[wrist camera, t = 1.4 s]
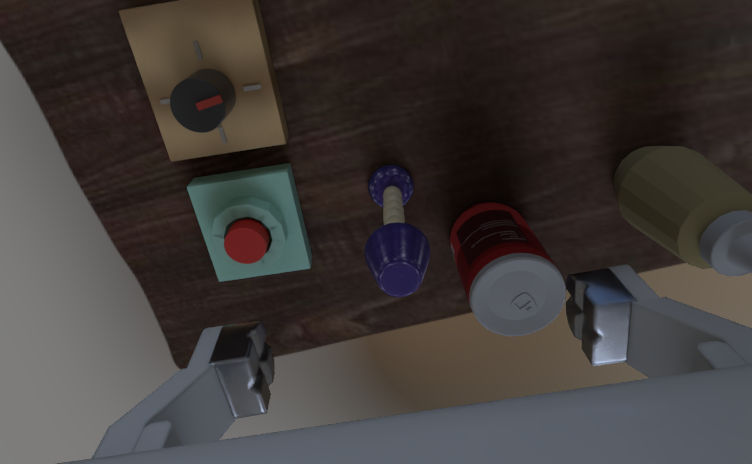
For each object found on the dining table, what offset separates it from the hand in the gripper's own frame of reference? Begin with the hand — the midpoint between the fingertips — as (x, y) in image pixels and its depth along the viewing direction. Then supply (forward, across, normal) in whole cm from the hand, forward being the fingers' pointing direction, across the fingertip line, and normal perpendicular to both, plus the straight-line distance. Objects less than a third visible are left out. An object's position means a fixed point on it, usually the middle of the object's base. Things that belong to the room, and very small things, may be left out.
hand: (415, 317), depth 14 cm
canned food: (+34, -9, +17) cm, 39 cm away
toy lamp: (+34, 0, +10) cm, 35 cm away
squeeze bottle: (+34, -24, +13) cm, 44 cm away
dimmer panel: (+34, +13, -2) cm, 36 cm away
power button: (+30, +13, +11) cm, 35 cm away
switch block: (+34, +13, +11) cm, 38 cm away
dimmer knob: (+31, +13, -1) cm, 34 cm away
